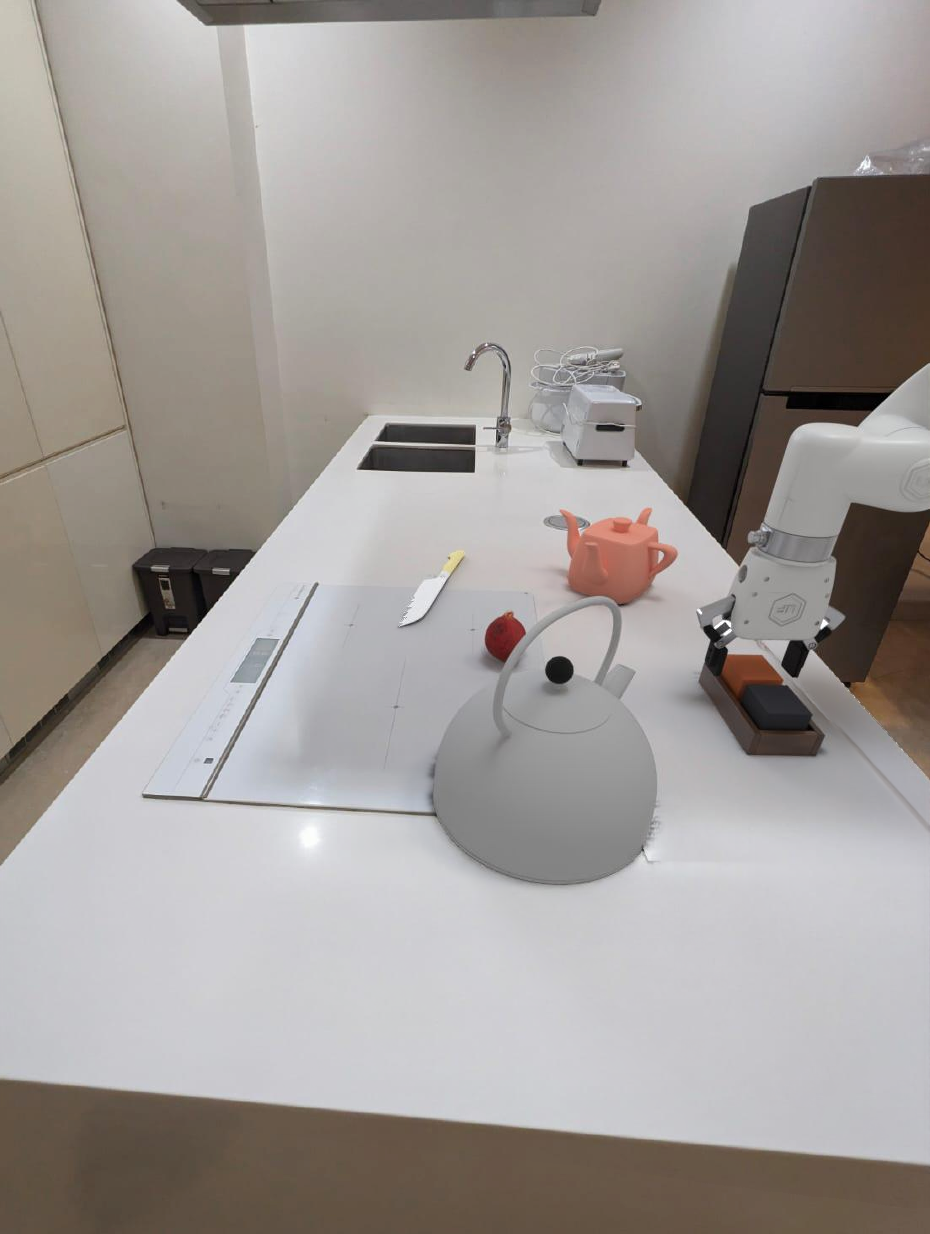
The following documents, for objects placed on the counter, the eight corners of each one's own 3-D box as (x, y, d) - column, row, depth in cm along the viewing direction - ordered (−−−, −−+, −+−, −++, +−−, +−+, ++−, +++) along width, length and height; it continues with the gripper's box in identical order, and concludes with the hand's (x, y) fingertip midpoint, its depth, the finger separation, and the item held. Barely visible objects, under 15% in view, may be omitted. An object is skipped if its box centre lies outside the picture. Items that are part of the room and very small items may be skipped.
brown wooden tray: (755, 685, 86) (763, 663, 84) (814, 759, 73) (825, 735, 71) (697, 684, 86) (704, 661, 84) (745, 758, 73) (754, 733, 71)
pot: (549, 567, 120) (557, 502, 113) (638, 565, 121) (652, 501, 114) (575, 610, 104) (586, 538, 98) (677, 609, 105) (695, 537, 99)
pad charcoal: (774, 718, 79) (787, 685, 76) (798, 749, 74) (813, 714, 71) (734, 717, 79) (746, 684, 76) (755, 748, 73) (768, 713, 71)
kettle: (539, 702, 82) (563, 535, 70) (704, 795, 67) (769, 605, 55) (389, 788, 68) (386, 596, 55) (557, 929, 53) (602, 712, 41)
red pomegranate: (503, 676, 87) (508, 625, 83) (474, 659, 91) (478, 609, 86) (532, 663, 90) (538, 612, 86) (503, 647, 94) (507, 598, 89)
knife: (390, 623, 98) (419, 622, 97) (442, 549, 125) (466, 547, 123) (391, 631, 99) (420, 630, 97) (443, 555, 126) (467, 554, 124)
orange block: (750, 686, 85) (762, 654, 82) (771, 712, 80) (784, 679, 77) (713, 686, 85) (723, 653, 82) (731, 712, 80) (743, 678, 77)
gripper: (731, 553, 67) (692, 686, 77) (893, 556, 68) (834, 689, 77) (705, 529, 74) (672, 655, 83) (853, 532, 74) (803, 657, 83)
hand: (750, 671), depth 80 cm, fingers open, 9 cm apart
